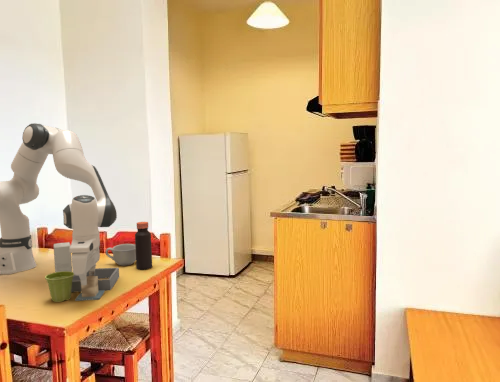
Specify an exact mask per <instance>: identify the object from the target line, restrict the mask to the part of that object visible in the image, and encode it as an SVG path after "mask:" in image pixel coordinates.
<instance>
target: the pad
mask: <svg viewBox="0 0 500 382" xmlns="http://www.w3.org/2000/svg"><path fill="white" fill-rule="evenodd" d="M98 291H99V292H98V293H97V295H96V296H93V297H82V292H79V294H78V295H77V296H76V298H75V300H74V301H75V302H76V301H78V302H79V301H96V300H97V301H98V300H100V299H101V298H102V296H104V294H105V290H98Z"/></svg>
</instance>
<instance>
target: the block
mask: <svg viewBox="0 0 500 382" xmlns="http://www.w3.org/2000/svg"><path fill="white" fill-rule="evenodd" d="M86 278H87V280H88V281H87V282H88V283H87V284H86V285H81V289H82V297H93V296H96V295H97V293H98V292H99V291H98V280H99V279H98V276H86Z"/></svg>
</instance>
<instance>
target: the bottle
mask: <svg viewBox="0 0 500 382" xmlns="http://www.w3.org/2000/svg"><path fill="white" fill-rule="evenodd" d="M136 229H137V231H136V233H135V234H134V245H135V248H136V261H135V265H136V266H135V268H136V269H137V270H139V269H140V270H142V271H143V270H144V269H145V270H149V268H150V269H152V268H153V255H152V253H153V251H152V233H151V232H150V231H149V221H139V222H136ZM151 267H152V268H151Z"/></svg>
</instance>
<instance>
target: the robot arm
mask: <svg viewBox="0 0 500 382" xmlns="http://www.w3.org/2000/svg"><path fill="white" fill-rule="evenodd" d="M49 155H52V158H53V164H54V166H55V170H56V171H57V172H58V173H59V174H60V176H63V177H65V178H67V179H70V180H75V181H77V182H82V183H84V184H86V185H87V186H89V187H90V188H91V190H92V193H93V195H94V196H92V195H88V194H81V195H77V196H74V197H72V200H71V203H69V204H67V205H66V206H65V207H64V209H62V215H63V225H64V226H65V227H66V228H68V229H70V230H72V234H71V236H72V237H71V238H72V240H71V243H70V248H69V250H70V253H71V263H72V272H73V273H74V275H75V276H79V277H80V281H81V285H86V284H87V283H88V282H87V281H88V280H87V278H86V275H87V272H88V271H89V276H94V275H95V269H97V267H96V266H97V263H99V261H100V258H101V257H100V256H101V254H100V246H101V241H100V229H99V228H110V227H111V226H112V225H113V224H114V223H115V222H116V220H117V218H118V217H117V216H118V215H117V209H116V207H115V205H114V202H113V201H112V200H111V197H110V195H109V193H108V191H107V189H106V186H105V184H104V181H103V180H102V177H101V175H100V172H99V171H98V169H97V167H96V166H94V165H92V164H91V163H90V162H89V161H88V160H87V159H86V157H85V155H84V151H83V147H82V143H81V141H80V139H79V137H78V135H77V134H76V133H75V132H74V131H72V130H68V129H64V130H63V129H61V128H58V127H54V126H50V125H43V124H42V123H36V122H35V123H29V124H28V125H26V127H25V128H24V130H23V132H22V143H21V144H20V146H19V148H18V150H17V152H16V154H15V156H14V158H13V160H12V162H11V163H10V169H11V171H12V172H13V176H12V178H11V179H10V180H4V181H0V236H1V237H0V275H11V274H14V273H18V272H23V271H28V270H31V269H34V268H36V267H37V263H36V261H35V257H34V253H33V249H32V248H33V240H32V235H31V230H30V229H31V228H30V219H29V217H28V216H27V215H26V214H24V213H23V212H22V209H21V208H20V206H21V205H24V204H29V203H30V202H33V201H34V200H36V199H37V198H38V197H39V194H40V188H39V186H38V184H37V183H38V181H37V180H38V176H39V174H40V172H41V170H42V168H43V167H44V164H45V162H46V160H47V159H48V156H49Z"/></svg>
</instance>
